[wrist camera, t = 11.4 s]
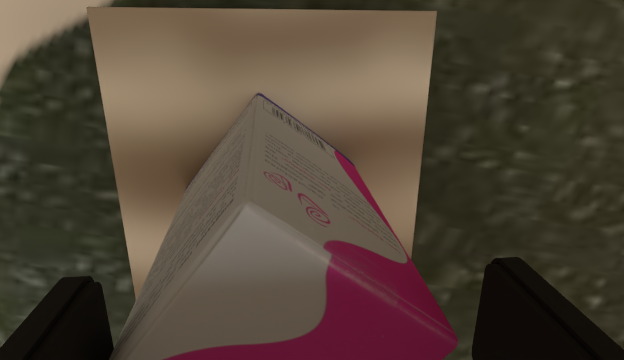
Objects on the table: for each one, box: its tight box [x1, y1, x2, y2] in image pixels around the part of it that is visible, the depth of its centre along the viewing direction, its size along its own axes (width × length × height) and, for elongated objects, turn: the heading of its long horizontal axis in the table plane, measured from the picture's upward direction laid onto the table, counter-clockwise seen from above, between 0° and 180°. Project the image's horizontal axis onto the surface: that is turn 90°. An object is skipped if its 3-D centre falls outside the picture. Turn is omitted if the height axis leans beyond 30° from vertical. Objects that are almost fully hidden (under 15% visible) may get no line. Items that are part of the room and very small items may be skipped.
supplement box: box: [109, 92, 459, 360], centre depth 14 cm, size 6×6×12 cm
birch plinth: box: [87, 7, 437, 300], centre depth 21 cm, size 14×14×4 cm
